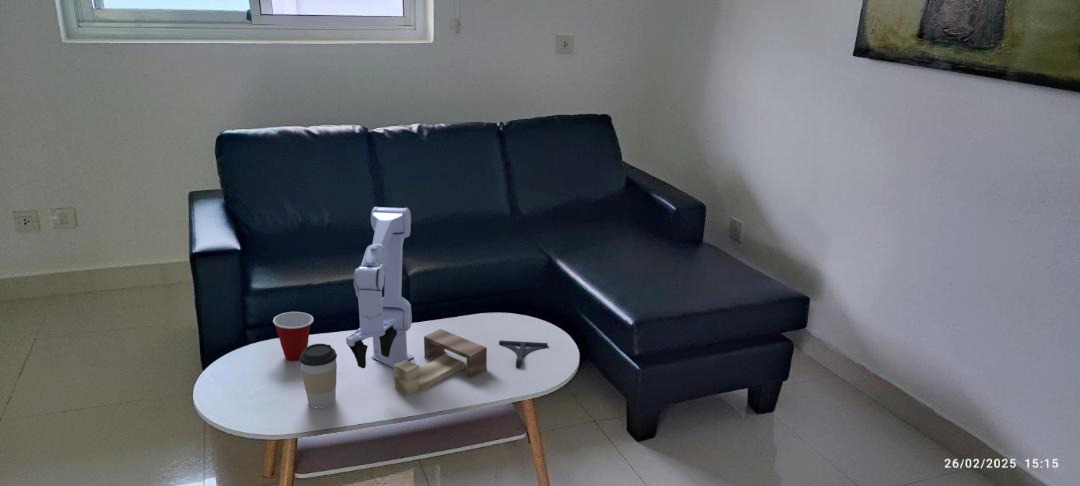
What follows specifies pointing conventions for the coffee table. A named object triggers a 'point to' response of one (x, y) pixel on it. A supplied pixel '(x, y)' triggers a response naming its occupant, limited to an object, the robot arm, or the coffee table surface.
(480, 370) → the walnut shelf
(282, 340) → the plastic cup
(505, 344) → the bracket
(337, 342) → the coffee table surface
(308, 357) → the coffee cup
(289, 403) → the coffee table surface
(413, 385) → the oak l-shaped block
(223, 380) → the coffee table surface
